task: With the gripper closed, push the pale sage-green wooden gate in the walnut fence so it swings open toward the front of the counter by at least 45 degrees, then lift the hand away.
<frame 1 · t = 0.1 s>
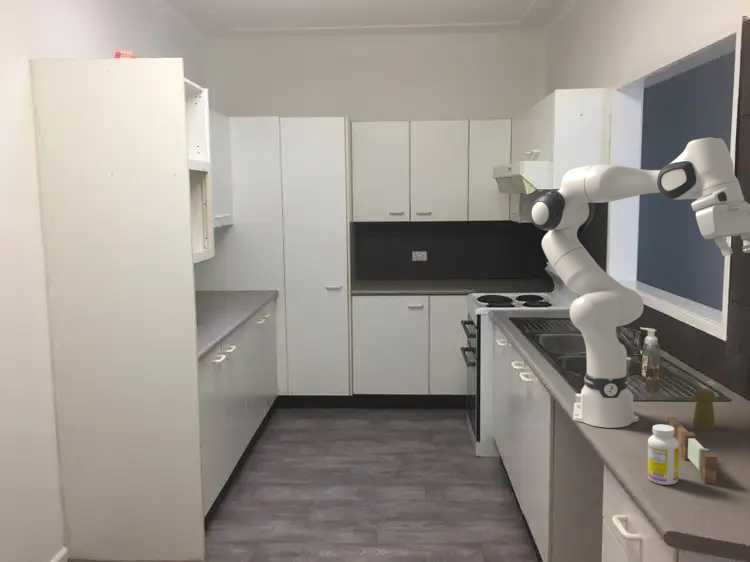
hand: (738, 253, 160), 52 cm above the countertop, tool tilted 20°, fingers open, 8 cm apart
cork: (703, 427, 190), on the countertop
supplement bottle: (662, 480, 157), on the countertop
gate: (697, 454, 161), point 4 cm above the countertop, hinge at 0.0°
fence: (688, 458, 168), on the countertop
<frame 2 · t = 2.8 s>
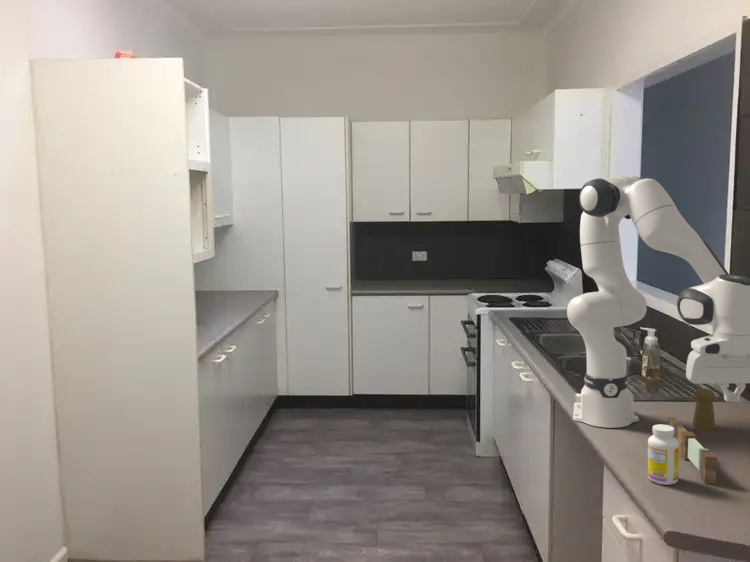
hand: (731, 400, 158), 17 cm above the countertop, tool pointing down, fingers closed
nothing on the countertop moved.
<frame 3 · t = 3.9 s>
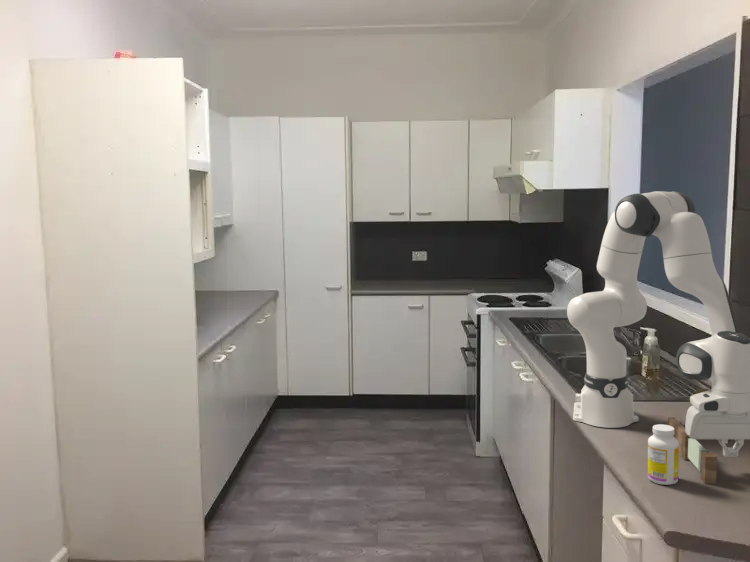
hand: (730, 455, 160), 4 cm above the countertop, tool pointing down, fingers closed
nothing on the countertop moved.
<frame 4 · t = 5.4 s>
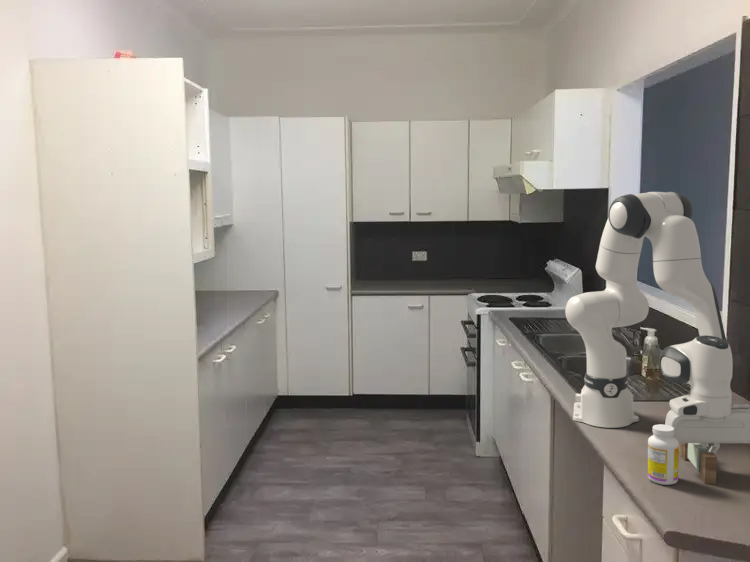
hand: (708, 459, 161), 3 cm above the countertop, tool pointing down, fingers closed
gate: (696, 454, 162), point 4 cm above the countertop, hinge at -1.8°, touching gripper
everything else where it was.
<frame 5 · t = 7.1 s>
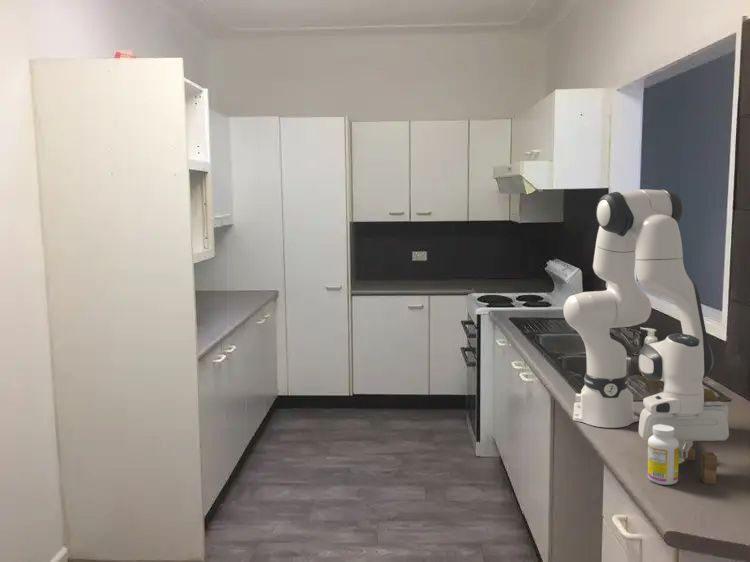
hand: (682, 457, 162), 3 cm above the countertop, tool pointing down, fingers closed
gate: (674, 450, 164), point 4 cm above the countertop, hinge at -46.2°, touching gripper
everything else where it was.
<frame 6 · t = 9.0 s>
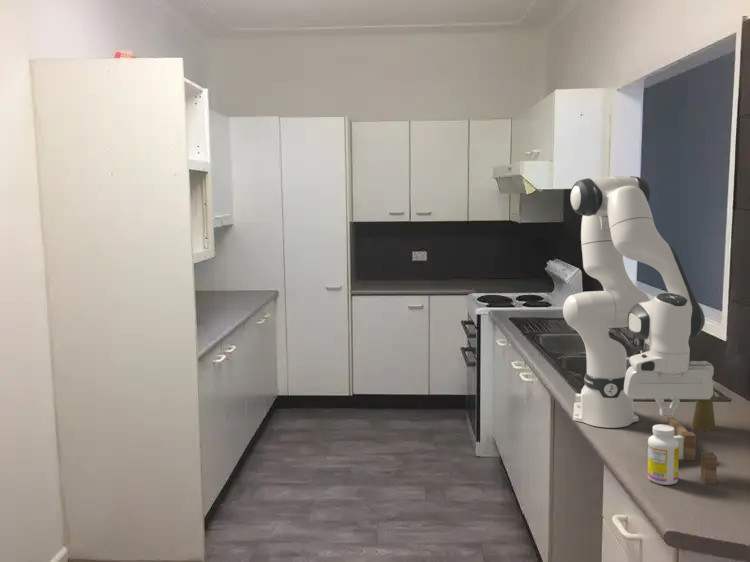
hand: (666, 415, 164), 13 cm above the countertop, tool pointing down, fingers closed
gate: (665, 446, 167), point 4 cm above the countertop, hinge at -73.1°
everything else where it was.
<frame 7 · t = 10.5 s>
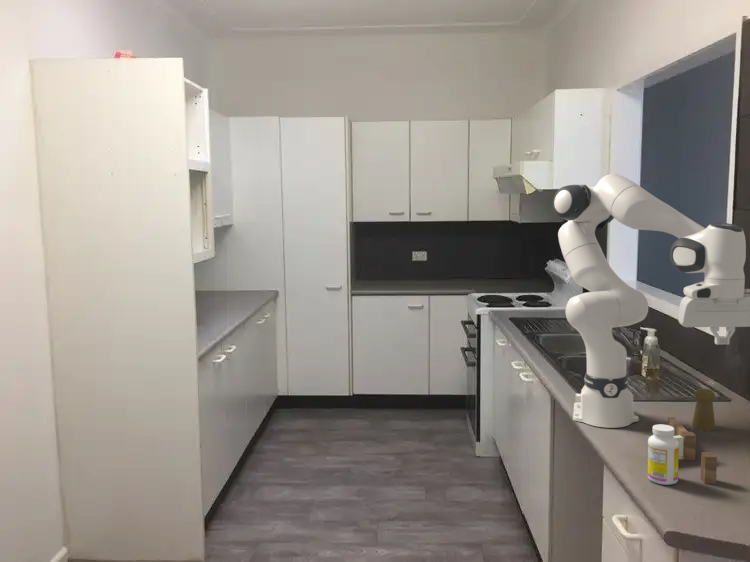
hand: (721, 344, 166), 29 cm above the countertop, tool pointing down, fingers closed
nothing on the countertop moved.
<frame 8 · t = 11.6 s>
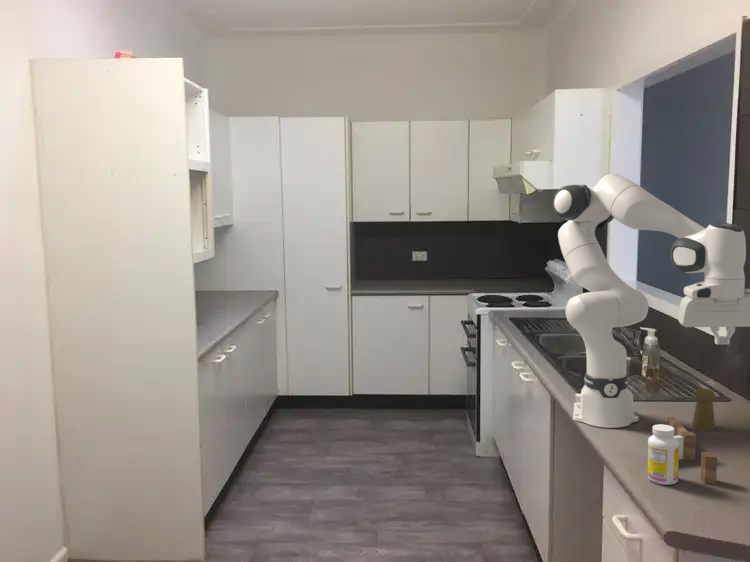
hand: (722, 344, 166), 29 cm above the countertop, tool pointing down, fingers closed
nothing on the countertop moved.
at the end: gate at -73° (first picture: +0°); supplement bottle moved 0.2 cm from its start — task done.
